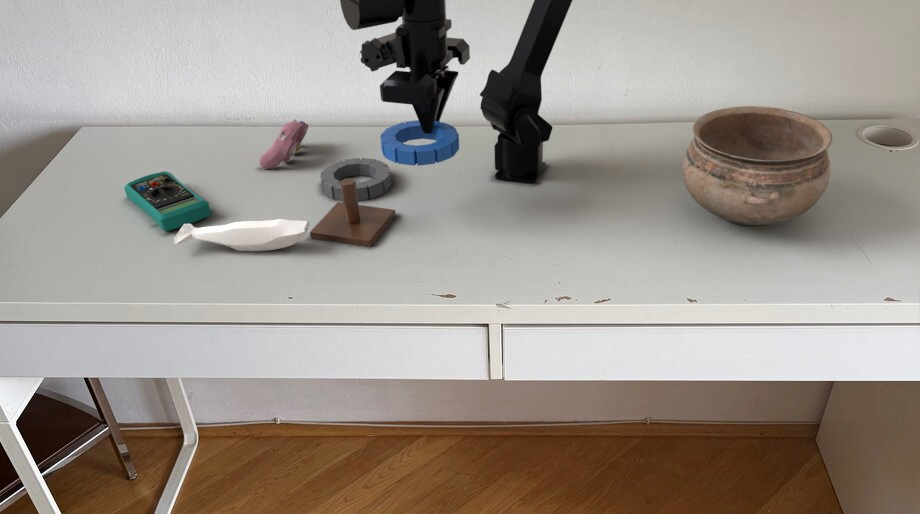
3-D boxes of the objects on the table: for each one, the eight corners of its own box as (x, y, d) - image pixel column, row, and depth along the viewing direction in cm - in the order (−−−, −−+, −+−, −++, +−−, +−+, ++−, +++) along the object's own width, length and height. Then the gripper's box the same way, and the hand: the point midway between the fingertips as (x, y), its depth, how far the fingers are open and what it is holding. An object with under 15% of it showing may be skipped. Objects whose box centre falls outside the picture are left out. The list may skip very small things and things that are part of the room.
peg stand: (395, 215, 125) (391, 170, 121) (370, 247, 118) (364, 200, 114) (338, 208, 127) (332, 163, 123) (310, 238, 121) (302, 192, 117)
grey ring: (401, 173, 136) (400, 161, 135) (374, 204, 128) (373, 192, 127) (340, 166, 139) (338, 154, 137) (310, 196, 131) (308, 184, 130)
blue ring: (468, 137, 122) (468, 124, 121) (443, 169, 114) (442, 155, 113) (399, 130, 125) (398, 116, 124) (370, 160, 117) (368, 146, 116)
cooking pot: (834, 266, 110) (856, 177, 103) (680, 258, 113) (691, 172, 106) (804, 176, 130) (821, 97, 123) (674, 172, 133) (683, 94, 125)
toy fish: (306, 258, 116) (301, 232, 114) (175, 257, 118) (168, 231, 116) (315, 238, 121) (311, 212, 118) (189, 236, 122) (182, 211, 120)
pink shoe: (282, 180, 139) (294, 144, 135) (255, 167, 138) (267, 130, 134) (304, 154, 147) (316, 119, 142) (279, 141, 146) (290, 106, 142)
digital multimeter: (171, 184, 136) (166, 166, 134) (213, 218, 126) (209, 199, 125) (125, 199, 132) (120, 181, 131) (165, 235, 123) (160, 216, 121)
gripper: (393, -8, 122) (401, 100, 132) (336, 33, 108) (350, 150, 117) (469, -3, 119) (472, 107, 129) (420, 39, 105) (427, 160, 114)
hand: (430, 129), depth 122 cm, fingers closed on blue ring, 2 cm apart
